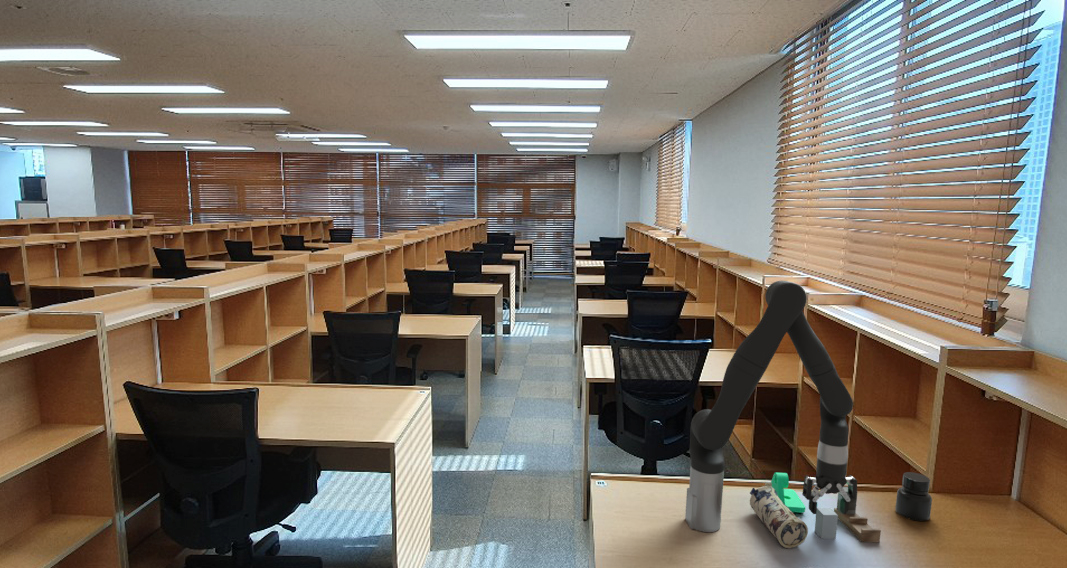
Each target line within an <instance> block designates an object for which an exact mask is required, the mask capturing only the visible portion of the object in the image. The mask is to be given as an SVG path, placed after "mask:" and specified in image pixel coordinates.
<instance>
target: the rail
mask: <svg viewBox="0 0 1067 568" xmlns="http://www.w3.org/2000/svg"><path fill="white" fill-rule="evenodd" d="M843 489H844V490H845V492H846V493H848V486H844V487H843ZM841 498H842V496H841V495H840V494H839V492H838V493H837V501H836V502H837V503H836V507H834V508H833V511H834V512H835V513H836V514H837V515H838V520H839V521H840V522H841V523H842V524H843V525H844V526H845V527H846V528H847V529H848V530H849V531H850V532H851V534H853V535H854V536H855V537H856V538H857V539H858V540H859V541H860V542H862V543H880V540H881V534H882V533H881V532H882V531H881V529H880V528H873V527H872V526H870V524H869V523H868V518H867V517H866V516H860V515H858V513H857V512H856V511H857V501H858V500H857V499H858V498H857V499H855V500H854V499H852V500H850V501H849V509H848V512H847V513H846V514H843V513H842V512H841V511H840V501H841Z"/></svg>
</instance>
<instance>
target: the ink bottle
mask: <svg viewBox="0 0 1067 568" xmlns="http://www.w3.org/2000/svg"><path fill="white" fill-rule="evenodd" d="M902 474H903V475H902V481H901V483H902V485H901V486H902V487H899V488H898V489H897V492H896V499H895V512H896V513H898V515H900V516H902V517H904V518H906V519H909V520H912V521H917V522H924V521H929V520H930V518H931V514H932V504H933V497H932V496H931V494H929V491H930V490H929V489H930V483H931V479H930V477H928V476H926V475H924V474H922V473H917V472H914V471H911V472H910V471H907V472H904V473H902Z"/></svg>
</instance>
